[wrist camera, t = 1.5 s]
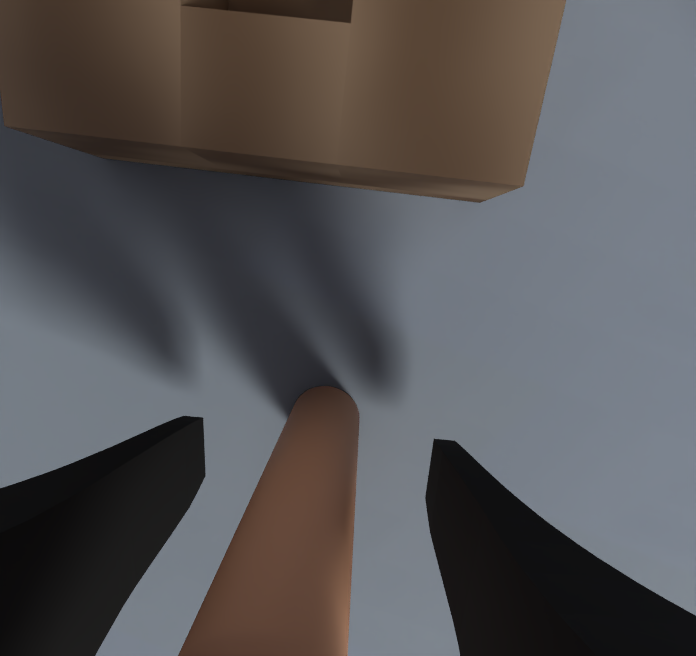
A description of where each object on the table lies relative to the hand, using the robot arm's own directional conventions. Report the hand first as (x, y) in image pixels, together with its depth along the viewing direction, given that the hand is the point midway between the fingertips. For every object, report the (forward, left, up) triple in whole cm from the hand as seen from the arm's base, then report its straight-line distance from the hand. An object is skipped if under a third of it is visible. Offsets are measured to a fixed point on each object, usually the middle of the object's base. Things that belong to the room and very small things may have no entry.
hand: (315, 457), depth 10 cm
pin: (0, 0, -2) cm, 2 cm away
